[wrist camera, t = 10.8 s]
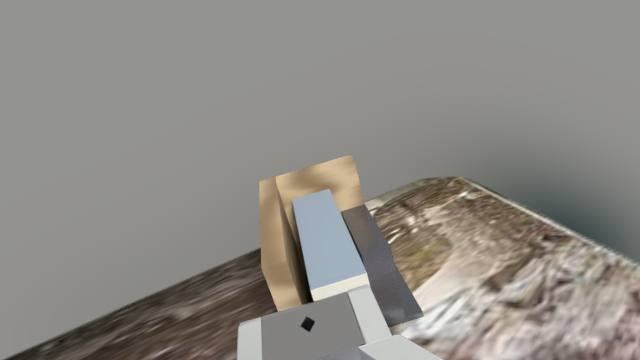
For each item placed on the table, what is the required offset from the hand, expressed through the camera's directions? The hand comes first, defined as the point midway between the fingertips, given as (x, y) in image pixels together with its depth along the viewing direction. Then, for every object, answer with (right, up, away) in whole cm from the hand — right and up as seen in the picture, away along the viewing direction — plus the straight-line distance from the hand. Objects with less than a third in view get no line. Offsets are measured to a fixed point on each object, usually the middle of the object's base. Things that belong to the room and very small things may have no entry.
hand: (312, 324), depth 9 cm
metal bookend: (+7, -11, +38) cm, 40 cm away
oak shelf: (+3, -13, +36) cm, 38 cm away
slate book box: (+4, -14, +34) cm, 37 cm away
